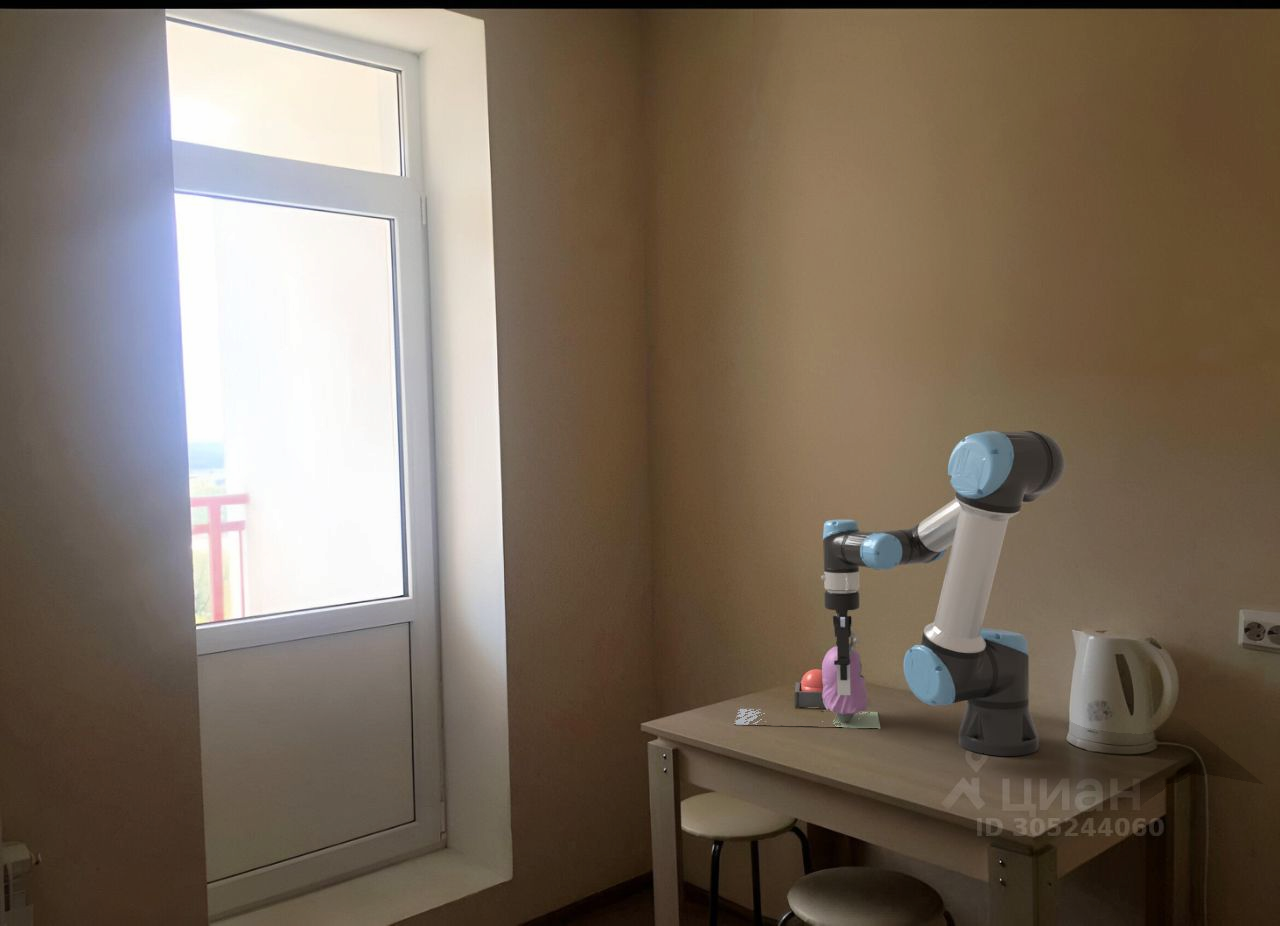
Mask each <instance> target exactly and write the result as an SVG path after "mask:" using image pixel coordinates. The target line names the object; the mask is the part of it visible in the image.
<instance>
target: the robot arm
mask: <svg viewBox="0 0 1280 926" xmlns="http://www.w3.org/2000/svg"><path fill="white" fill-rule="evenodd" d="M955 445H956V446H954V448H953V450H952V452H951V453H950V457H949V461H948V466H947V472H948V477H950V480H949V482H950V485H951V486H952V488H953V490H954V491H955V494H954V499H953V500H951V501H950V502H948V503H946V504H945V505H944V506H943V507H941V508H939V509H938V510H936V511H935V512H934V513H932V514H931V515H929V516H928V517H926V518H924V519H923V520H922V521H920V522H919V523H917V524H915V525H914V526H913V527H911V528H905V529H897V530H896V529H894V530H885V531H884V530H882V531H862V530H860V529H859V524H858V522H857V520H854V519H830V520H827V521H825V522H824V524H823V534H822V536H823V537H822V542H823V543H822V544H823V545H822V546H823V549H822V550H823V570H824V572H823V573H824V575H821V576H820V578H821V580H824V583H823V584H824V589H825V590H826V591H824V594H823V595H824V596H823V597H824V598H823V601H824V602H823V603H824V607H825V609H827V610H830V611H835V615H833V616H832V625H833V627H834V629H833V630H834V637H835V638H836V641H835V644H836V646H837V656H838V659H837V661H834V665H837V695H850V659H849V644H850V638H851V631H852V629H851V627H852V622H853V621H852V615H848V613H849V611H855V610H858V609H859V608H860V593H859V591H858V590H859V589H860V568H859V567H862V568H868V569H872V570H874V571H875V570H876V571H880V570H883V571H886V570H887V571H888V570H893V569H894V568H895V567H897V566H905V565H915V564H929V563H932V562H937V561H939V560H942V559H943V557H944V556H945V554H946V552H947V549H948V548H949V547H951V549H950V552H949V553H950V554H949V557H948V561H947V562H948V563H947V565H946V566H947V567H946V571H945V575H944V579H943V583H942V588H941V592H940V596H939V601H938V605H937V610H936V613H935V616H934V617H935V618H934V620H933V622H931V623H929V624H926V626H924V628H923V632H922V637H921V641H920V644H915V645H913V646H912V647H911V648H909V649H908V650H907V651H906V653H905V655H904V659H903V674H904V678H905V681H906V682H907V684H908V687H909V689H910V691H911V692H912V693H913V694H914V696H915V697H916V698H917V699H918V700H919V701H921V702H922V703H923V704H926V705H929V706H949V705H952V704H955V703H959V702H965V701H967V702H966V703H967V704H966V709H965V711H964V714H963V718H962V720H961V723H960V727H959V729H958V744H959V746H960V747H962V748H964V749H966V750H969V751H972V752H973V753H979V754H983V753H984V754H983V755H991V756H1002V757H1014V756H1015V757H1019V756H1025V755H1026V756H1027V755H1030V754H1033V753H1035V752H1037V751H1038V750H1039V749H1040V745H1039V743H1040V742H1039V741H1040V740H1039V734H1038V730H1037V728H1036V725H1035V723H1034V720H1033V717H1032V714H1031V711H1030V705H1029V704H1030V703H1029V696H1030V695H1029V692H1030V691H1029V686H1030V684H1029V683H1030V681H1029V680H1030V679H1029V678H1030V677H1029V676H1030V675H1029V670H1030V669H1029V660H1030V659H1029V657H1030V652H1029V645H1028V640H1027V638H1026V637H1025V636H1024V635H1023V634H1022V633H1019V632H1016V631H1015V632H1014V631H1011V630H1005V629H997V628H988V627H987V628H986V627H983V623H984V619H985V617H986V616H985V615H986V611H987V608H988V603H989V599H990V596H991V595H990V594H991V592H992V588H993V584H994V579H995V576H996V572H997V567H998V564H999V561H1000V560H999V559H1000V555H1001V551H1002V548H1003V542H1004V538H1005V535H1006V533H1007V532H1006V531H1007V529H1008V524H1009V519H1010V518H1012V517H1014V516H1016V515H1018V514H1019V513H1020V512H1021V507H1022V504H1028V503H1029V504H1030V503H1032V502H1033V501H1035V500H1037V499H1038V498H1040V497H1042V496H1043V495H1045V494H1047V493H1048V492H1050V491H1051V490H1052V489H1054V488H1055V487H1056V486H1057V485H1058V484H1059V483H1060V481H1061V479H1062V478H1063V475H1064V472H1065V469H1066V461H1065V460H1066V459H1065V454H1064V451H1063V449H1062V448H1061V446H1060V444H1059V443H1058V442H1057V441H1056V440H1055V439H1054V438H1052V437H1051V436H1049V435H1048V434H1047V433H1044V432H1041V431H1037V430H1019V431H1018V430H1017V431H995V430H988V431H982V432H978V433H977V432H976V433H971V434H970V435H966V437H964V438H963V439H961V440H960V441H959V442H958V443H957V444H955Z"/></svg>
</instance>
